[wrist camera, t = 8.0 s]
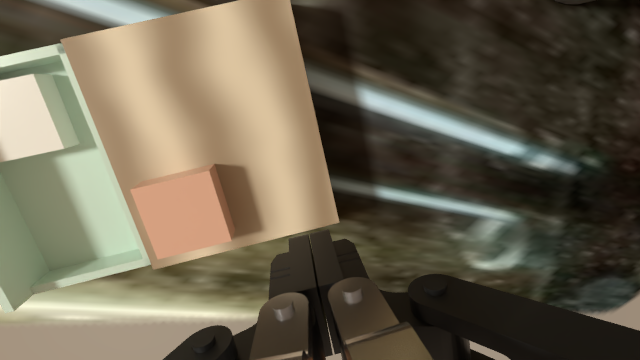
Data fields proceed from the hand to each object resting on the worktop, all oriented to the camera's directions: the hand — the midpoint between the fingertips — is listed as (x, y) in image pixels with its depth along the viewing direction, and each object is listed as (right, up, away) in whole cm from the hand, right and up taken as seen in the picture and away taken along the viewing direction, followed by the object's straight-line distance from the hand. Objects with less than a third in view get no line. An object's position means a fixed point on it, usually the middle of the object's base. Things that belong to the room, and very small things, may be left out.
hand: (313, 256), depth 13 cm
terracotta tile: (-9, +1, +12) cm, 15 cm away
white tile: (-20, +7, +10) cm, 24 cm away
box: (-19, +4, +14) cm, 24 cm away
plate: (-7, +6, +15) cm, 18 cm away
